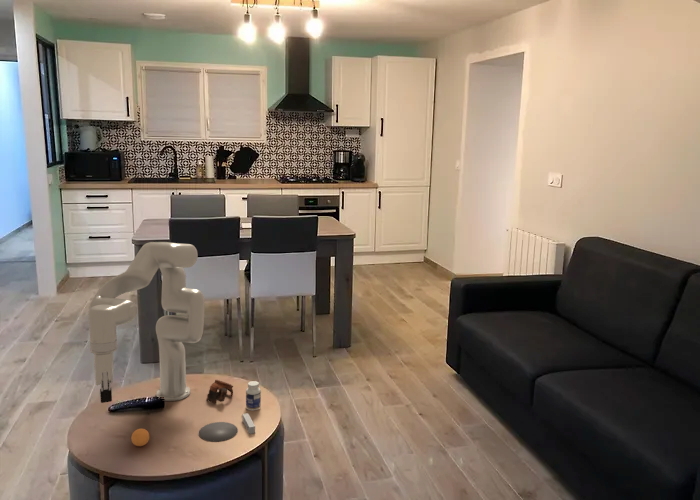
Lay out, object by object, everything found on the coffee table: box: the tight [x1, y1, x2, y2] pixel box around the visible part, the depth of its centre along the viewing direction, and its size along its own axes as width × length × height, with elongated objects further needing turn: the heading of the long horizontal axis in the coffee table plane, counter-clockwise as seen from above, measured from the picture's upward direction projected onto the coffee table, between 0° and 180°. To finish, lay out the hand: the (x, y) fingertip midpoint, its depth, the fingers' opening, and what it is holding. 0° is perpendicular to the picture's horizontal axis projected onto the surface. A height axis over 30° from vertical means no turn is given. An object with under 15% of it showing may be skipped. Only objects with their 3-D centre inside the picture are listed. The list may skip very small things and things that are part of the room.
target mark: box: [198, 421, 239, 443], centre depth 196 cm, size 13×13×1 cm
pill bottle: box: [245, 380, 262, 411], centre depth 213 cm, size 5×5×10 cm
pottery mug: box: [206, 379, 234, 405], centre depth 220 cm, size 12×10×8 cm
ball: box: [130, 427, 150, 447], centre depth 186 cm, size 6×6×6 cm
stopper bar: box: [242, 412, 256, 435], centre depth 200 cm, size 10×2×2 cm, turn 24°
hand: (106, 401), depth 179 cm, fingers closed
